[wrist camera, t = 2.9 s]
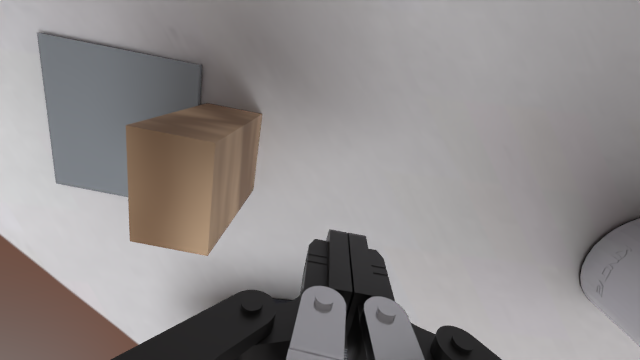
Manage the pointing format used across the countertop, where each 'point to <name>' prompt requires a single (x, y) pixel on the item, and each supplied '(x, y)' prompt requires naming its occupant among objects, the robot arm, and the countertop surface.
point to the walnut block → (190, 175)
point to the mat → (106, 105)
